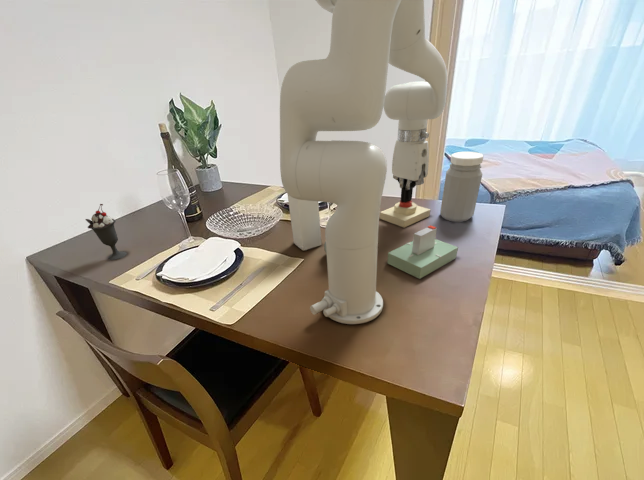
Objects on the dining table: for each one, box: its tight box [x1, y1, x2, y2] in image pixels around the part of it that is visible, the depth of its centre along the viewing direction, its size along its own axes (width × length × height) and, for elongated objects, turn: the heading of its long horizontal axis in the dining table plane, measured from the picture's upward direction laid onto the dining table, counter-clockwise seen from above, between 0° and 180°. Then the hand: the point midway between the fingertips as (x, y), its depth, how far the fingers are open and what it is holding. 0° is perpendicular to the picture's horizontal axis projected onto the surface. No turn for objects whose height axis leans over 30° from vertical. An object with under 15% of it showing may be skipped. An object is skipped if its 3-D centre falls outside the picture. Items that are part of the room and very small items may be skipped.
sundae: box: [85, 203, 128, 261], centre depth 91 cm, size 7×7×15 cm
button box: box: [379, 201, 431, 228], centre depth 103 cm, size 12×10×4 cm
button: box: [399, 199, 413, 208], centre depth 102 cm, size 4×4×2 cm
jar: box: [439, 151, 484, 223], centre depth 97 cm, size 10×10×18 cm
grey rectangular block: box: [412, 224, 438, 255], centre depth 79 cm, size 6×2×5 cm, turn 127°
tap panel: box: [386, 238, 459, 280], centre depth 81 cm, size 14×10×3 cm
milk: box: [287, 194, 322, 252], centre depth 87 cm, size 6×6×22 cm
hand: (406, 200), depth 101 cm, fingers closed
